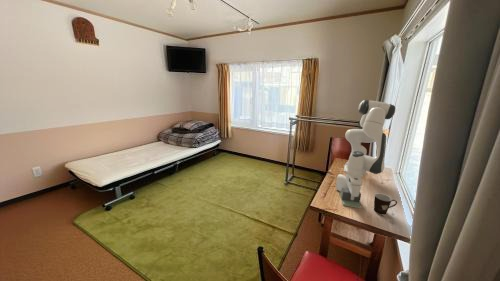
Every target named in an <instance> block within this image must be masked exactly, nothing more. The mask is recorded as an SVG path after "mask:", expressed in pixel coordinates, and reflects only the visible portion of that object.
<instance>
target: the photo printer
mask: <svg viewBox="0 0 500 281" xmlns="http://www.w3.org/2000/svg"><path fill="white" fill-rule="evenodd" d="M346 181H347V179H346V174H338V175H337V177H336V183H335V190H336V191H338V192H339V193H341V190H342V188H346V189H348V186H347V183H346Z"/></svg>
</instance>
